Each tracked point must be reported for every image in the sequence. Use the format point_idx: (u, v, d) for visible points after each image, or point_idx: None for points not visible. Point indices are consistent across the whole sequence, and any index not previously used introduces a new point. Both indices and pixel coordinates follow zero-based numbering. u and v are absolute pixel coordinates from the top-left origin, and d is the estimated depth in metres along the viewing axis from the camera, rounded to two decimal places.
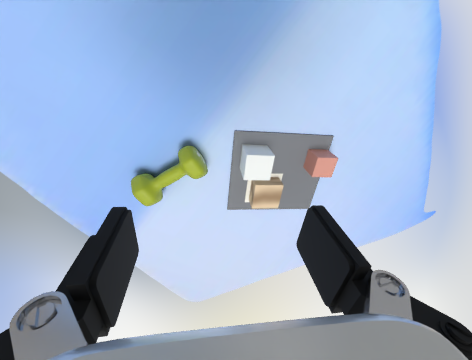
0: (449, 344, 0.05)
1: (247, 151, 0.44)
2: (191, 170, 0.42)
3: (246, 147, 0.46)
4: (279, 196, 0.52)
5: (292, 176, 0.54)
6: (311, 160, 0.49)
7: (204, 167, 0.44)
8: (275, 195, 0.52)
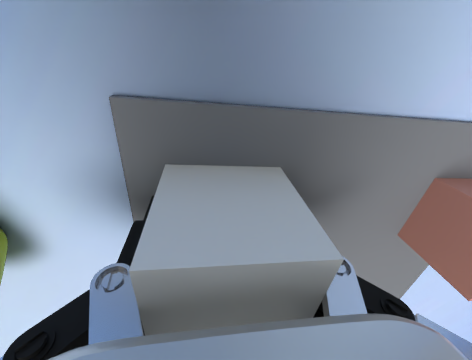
0: (449, 344, 0.05)
1: (160, 220, 0.07)
2: None
3: (174, 182, 0.09)
4: None
5: (357, 260, 0.17)
6: (463, 229, 0.12)
7: None
8: None
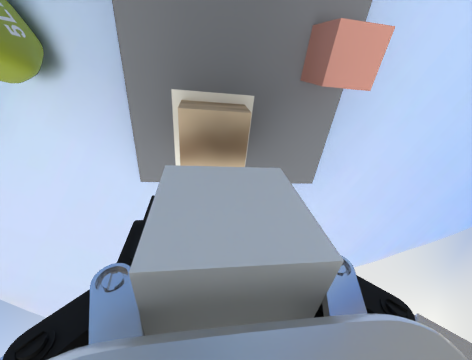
0: (449, 344, 0.05)
1: (160, 222, 0.07)
2: None
3: (174, 183, 0.09)
4: (244, 144, 0.22)
5: (276, 104, 0.24)
6: (321, 45, 0.19)
7: None
8: (233, 141, 0.22)
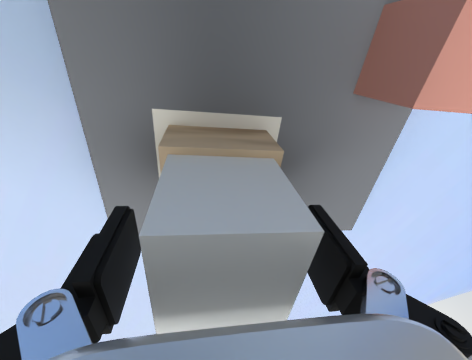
0: (449, 344, 0.05)
1: (164, 199, 0.08)
2: None
3: (176, 169, 0.10)
4: None
5: (313, 129, 0.16)
6: (408, 36, 0.11)
7: None
8: None
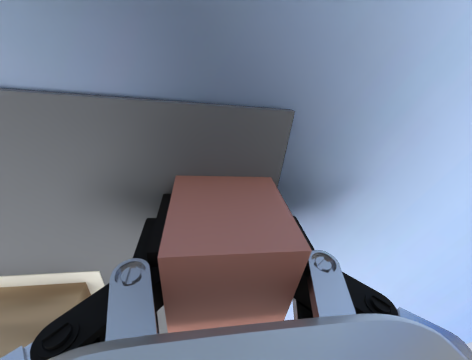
0: (449, 344, 0.05)
1: None
2: None
3: None
4: None
5: None
6: None
7: None
8: None
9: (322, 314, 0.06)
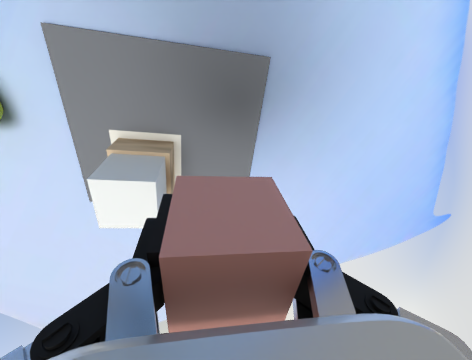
0: (449, 344, 0.05)
1: (100, 170, 0.21)
2: None
3: (111, 159, 0.23)
4: (167, 176, 0.27)
5: (201, 141, 0.29)
6: None
7: None
8: None
9: (322, 314, 0.06)
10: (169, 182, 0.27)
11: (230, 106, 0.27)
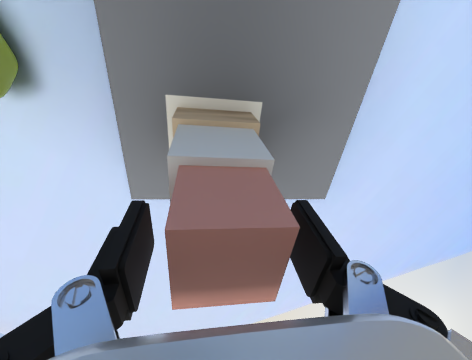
0: (449, 344, 0.05)
1: (179, 143, 0.13)
2: None
3: (185, 131, 0.15)
4: None
5: (287, 112, 0.21)
6: None
7: None
8: None
9: None
10: None
11: (336, 56, 0.19)
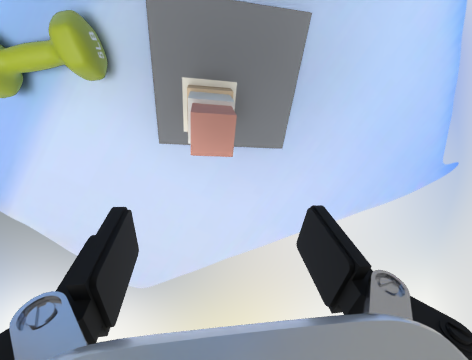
0: (449, 344, 0.05)
1: (192, 95, 0.28)
2: (63, 46, 0.25)
3: (194, 93, 0.30)
4: None
5: (252, 88, 0.36)
6: None
7: (95, 59, 0.27)
8: None
9: None
10: None
11: (277, 56, 0.34)
